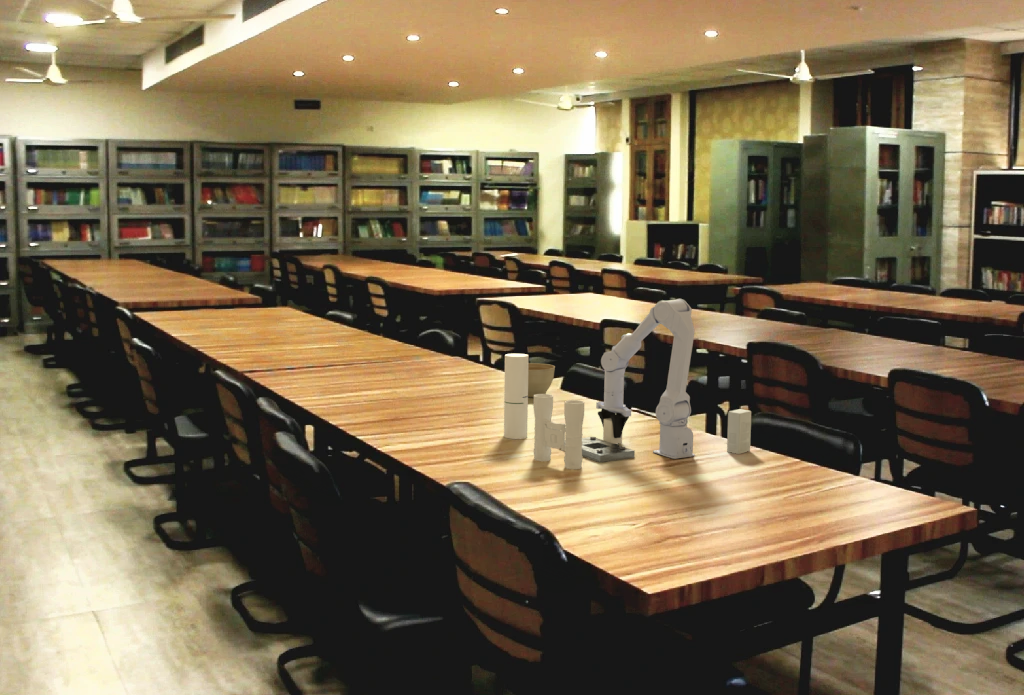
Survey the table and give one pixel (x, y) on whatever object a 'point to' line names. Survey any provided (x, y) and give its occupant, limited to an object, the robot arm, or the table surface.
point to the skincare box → (739, 431)
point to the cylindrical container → (516, 396)
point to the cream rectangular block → (610, 432)
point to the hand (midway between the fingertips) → (612, 436)
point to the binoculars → (558, 431)
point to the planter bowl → (539, 378)
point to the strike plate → (604, 450)
